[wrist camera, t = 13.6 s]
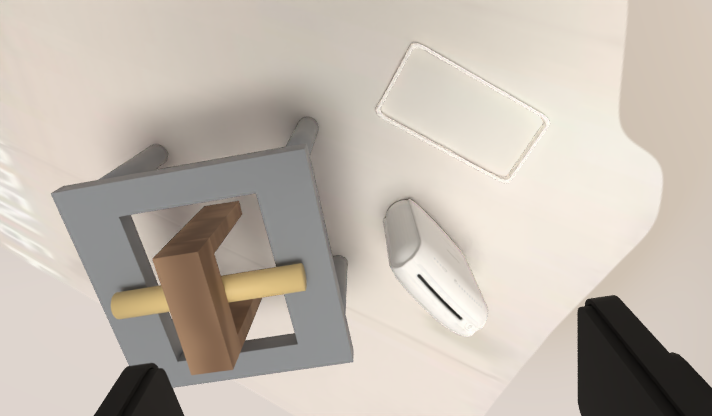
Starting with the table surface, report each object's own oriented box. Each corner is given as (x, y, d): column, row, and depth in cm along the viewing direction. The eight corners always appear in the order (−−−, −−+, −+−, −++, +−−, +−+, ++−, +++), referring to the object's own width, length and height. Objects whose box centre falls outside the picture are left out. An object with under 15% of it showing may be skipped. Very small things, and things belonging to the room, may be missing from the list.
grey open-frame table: (194, 298, 53) (130, 410, 38) (137, 142, 46) (32, 204, 31) (354, 273, 51) (353, 379, 36) (320, 109, 44) (301, 157, 30)
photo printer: (470, 257, 50) (503, 328, 39) (439, 280, 52) (462, 356, 40) (408, 189, 48) (424, 246, 36) (376, 216, 49) (382, 278, 37)
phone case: (548, 117, 45) (412, 39, 43) (553, 120, 44) (414, 40, 41) (503, 181, 48) (373, 111, 45) (507, 186, 46) (373, 114, 44)
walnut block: (231, 299, 43) (191, 375, 33) (204, 206, 40) (152, 258, 30) (263, 294, 43) (233, 369, 33) (238, 200, 40) (197, 251, 30)
